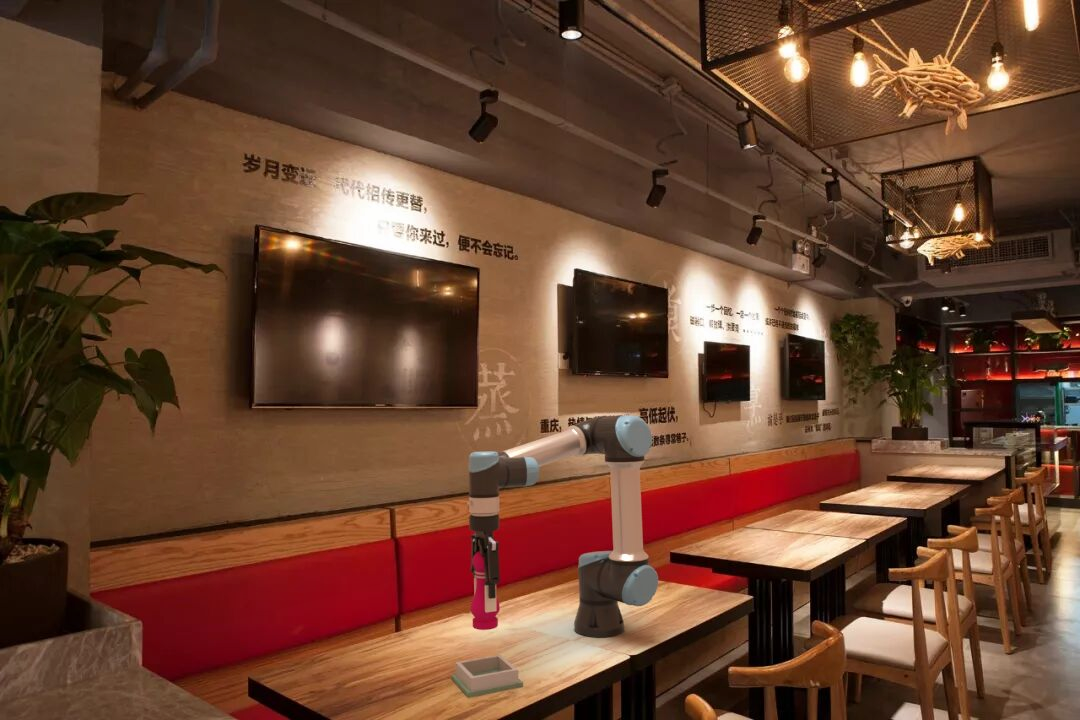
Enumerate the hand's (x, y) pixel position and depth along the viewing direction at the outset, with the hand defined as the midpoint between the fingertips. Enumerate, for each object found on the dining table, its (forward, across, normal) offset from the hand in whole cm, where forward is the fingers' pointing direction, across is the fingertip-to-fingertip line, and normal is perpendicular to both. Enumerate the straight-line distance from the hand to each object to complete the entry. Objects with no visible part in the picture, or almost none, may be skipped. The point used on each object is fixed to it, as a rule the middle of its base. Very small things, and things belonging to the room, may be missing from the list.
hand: (485, 607), depth 173 cm
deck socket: (+18, 0, 0) cm, 18 cm away
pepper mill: (+5, 0, 0) cm, 5 cm away
